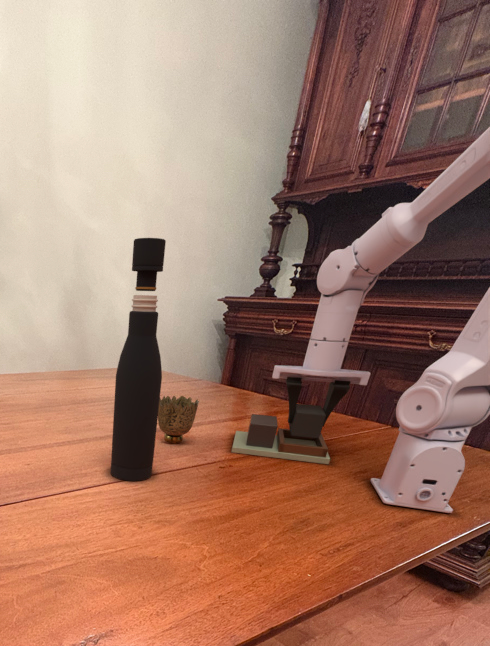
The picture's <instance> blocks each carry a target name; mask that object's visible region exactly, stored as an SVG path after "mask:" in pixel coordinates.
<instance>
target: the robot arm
mask: <svg viewBox="0 0 490 646" xmlns="http://www.w3.org/2000/svg"><path fill="white" fill-rule="evenodd" d="M489 179H490V126H489V127H488V128H487V129H486V130H485V131H484V132H483V133H482V134H480V136H479V137H477V138H476V139H475V140H474V141H473V142H472V143H471V144H470V145H469V146H468V147H467V148H466V149H465V150H464V151H463V152H462V153H461V154H460V155H459V156H458V157H457V158H456V159H455V160H454V161H453V162H451V164H450V165H449V166H448V167H447V168H446V169H445V170H444V171H443V172H442V173H440V174H439V175H438V177H436V178H435V179H434V181H432V182H431V183H430V184H429V185H428V186H427V187H426V188H425V189H424V190H423V191H422V192H421V193H420V194H419V195H418V196H417V197H416V198H415V199H413V201H412V202H400V203H397V204H395V205H394V206H389V207H388V208H387V209H386V210H385V211H384V212H383V213H381V218H380V219H379V220H378V221H376V223H374V224H373V225H372V226H371V227H370V228H369V229H367V231H365V232H364V233H363V234H362V235H361V236H360V237H359V238H356V239H355V240H354V241H353V242H352V243H351V245H348V246H347V247H345V248H342V249H341V248H338V249H335V250H333V251H331V252H330V253H329V255H328V256H327V257H326V258H325V259H324V261H323V262H322V263H321V265H320V267H319V269H318V272H317V276H316V286H317V290H318V291H319V292H320V298H319V303H318V306H317V309H316V313H315V317H314V322H313V324H312V325H313V326H312V329H311V333H310V337H309V341H308V345H307V349H306V353H305V356H304V360H303V364H302V365H274V367H273V371H272V376H271V377H272V379H275V380H277V379H278V380H279V379H282V380H283V379H284V380H285V384H286V390H287V391H286V392H287V398H288V417H287V423H288V424H289V423H291V424H292V422H293V419H294V415H295V410H296V405H297V404H298V402H299V398H300V394H301V391H302V388H303V385H302V384H303V381H313V382H322V383H323V382H326V383H328V389H327V394H326V397H325V402H324V405H323V407H322V409H323V411H324V413H325V415H326V417H325V420H324V424H323V427H325V425H326V423H327V420H328V419H329V417H330V416H331V414H332V412H333V411H334V409H335V408H336V406H337V405H338V404H339V403H340V401H342V399H343V398H344V397H345V396H346V395H347V394H348V393H349V391H350V389H351V385H352V384H353V385H358V386H359V385H360V386H367V385H368V384H369V383H368V382H369V380H370V377H371V372H370V371H368V370H367V371H366V370H355V369H345V368H342V365H343V362H344V358H345V355H346V352H347V348H348V345H349V342H350V338H351V335H352V332H353V329H354V328H353V327H354V325H355V323H356V319H357V315H358V312H359V309H360V308H361V306H362V305H363V304H364V301H365V298H366V296H367V294H368V293H369V292H370V290H372V289H373V287H374V286H375V284H376V283H377V281H378V278H379V276H380V274H381V272H383V271H384V270H385V269H387V268H388V267H389V266H391V265H392V264H393V263H395V262H396V261H397V260H398V259H399V258H401V257H402V256H403V255H404V254H406V253H407V252H409V251H410V250H411V249H413V247H415V246H416V245H417V244H419V243H420V242H421V241H422V240H423V239H424V237H425V234H426V231H427V228H428V226H429V224H430V223H431V222H433V221H434V220H435V219H436V218H438V217H439V216H440V215H442V214H443V213H445V212H446V211H447V210H449V209H450V208H451V207H453V206H454V205H456V204H457V203H459V202H460V201H461V200H462V199H464V198H465V197H467V196H468V195H469V194H470V193H472V192H473V191H475V190H476V189H477V188H479V187H480V186H482V185H483V184H484V183H486V182H487V181H488V180H489ZM463 327H464V328H463V329H462V331H461V332H460V334H459V336H458V337H457V338H456V339H455V342H454V343H453V345H452V347H451V348H450V350H449V351H448V352H447V353H446V354H445V355H443V356H441V357H440V358H439V359H437V360H435V362H433V363H432V364H430V365H429V366H428V367H427V368H425V370H424V371H423V372H422V374H421V376H420V377H419V379H418V380H417V381H416V382H415V383H414V384H413V385H411V386H410V387H409V388H407V389H406V390H405V391H404V392H403V393H402V395H401V396H400V397H399V399H398V401H397V404H396V408H395V418H396V421H397V423H398V425H399V428H398V435H397V437H396V440H395V443H394V444H393V448H392V450H391V453H390V455H389V458H388V460H387V463H386V465H385V468H384V471H383V473H382V476H381V478H376V477H371V478H370V480H369V481H370V483H371V484H372V486H373V488H374V490H375V491H376V494H378V496H379V498H380V499H381V501H382V503H383V504H386V505H392V506H397V507H398V506H399V507H405V508H413V509H418V510H425V511H433V512H439V513H446V514H453V512H454V509H453V508H452V506H451V505H450V504H449V502H450V500H451V497H452V496H453V493H454V491H455V490H456V487H457V486H458V483H459V481H460V479H461V477H462V475H463V473H464V471H465V467H466V460H465V457H464V455H463V453H462V449H463V447H464V445H465V443H466V440H467V438H468V436H469V434H470V432H471V431H472V429H473V428H474V427H476V426H478V425H480V424H481V423H483V422H484V421H485V420H486V419H487V418H488V417H489V416H490V286H489V287H488V289H487V291H486V292H485V294H484V295H483V297H482V298H481V300H480V302H479V303H478V305H477V306H476V308H475V310H474V311H473V313H472V314H471V316H470V318H469V319H468V321H467V322H466V324H465V326H463ZM323 427H322V428H323Z"/></svg>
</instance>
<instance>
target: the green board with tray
mask: <svg viewBox="0 0 490 646" xmlns="http://www.w3.org/2000/svg"><path fill="white" fill-rule="evenodd" d="M278 427H279V426H278V416H276V415H267V414H266V415H265V414H257V413H255V414H254V413H252V414H251V416H250V421H249V425H248V430H247V431H242V430H236V431H235V434H234V438H233V442H232V447H231V453H235V454H243V455H249V456H258V457H265V458H273V459H283V460H290V461H299V462H306V463H314V464H321V465H330V462H331V457H330V455H329V448H328V446H327V443H326V441H325V438H324V435H323V434H322V433H321V434H320V437H319V439H317V438H308V437H299V436H291V433H290V428H280V427H279V428H278Z"/></svg>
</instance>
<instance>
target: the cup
mask: <svg viewBox="0 0 490 646" xmlns="http://www.w3.org/2000/svg"><path fill="white" fill-rule="evenodd" d="M192 400H193V399H192V397H190V396H189V397H186V396H184V395H181V396H179V397H176V396H175V395H173V396H172V398H171V397H170V395H167V396H165V395H163V397H162V399H161V398H160V400H159V410H158V419H157V425H158V427H159V428H158V429H160V431H161V432H162V433H163V434H164V435H163V439H164V442H166V443H168V444H171V445H175V444H176V445H177V444H180V443H182V442H183V440H184V435H186V434H188V433H189V432H190V430H191V429H192V427H193V425H194V422H195V418H196V414H197V410H198V407H199V403H200V400H199V399H198V398H197V399H195V401H192Z"/></svg>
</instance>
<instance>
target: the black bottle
mask: <svg viewBox="0 0 490 646" xmlns="http://www.w3.org/2000/svg"><path fill="white" fill-rule="evenodd" d="M166 242H167V241H166V239H165V238H160V237H139V238H138V237H137V238H134V240H133V245H132V246H133V247H132V262H131V266H132V267H131V272H136V284H135V288H134V289H135V291H136V292H156V291H157V278H158V273H162V272H164V264H165V252H166ZM131 301H132V304H131V308H132V310H130V311H129V313H128V328H127V336H126V339H125V341H124V344H123V347H122V350H121V352H120V355H119V358H118V359H119V360H118V363H117V368H116V373H115V382H114V383H115V385H114V400H113V401H114V402H113V403H114V404H113V421H112V439H111V455H110V456H111V459H110V475H111V476H112V477H114V478H115V479H118V480H122V481H127V482H140V481H145V480H148V479H150V478H151V477H152V475H153V466H154V456H155V447H156V437H157V429H158V428H157V426H158V410H159V400H160V399H161V389H162V382H163V381H162V380H163V372H162V359H161V357H162V356H161V352H160V347H159V342H158V338H157V331H158V320H159V312H158V311H157V308H158V305H157V303H158V302H159V300H158V295H149V294H147V295H146V294H134V295H133V298H132V299H131Z"/></svg>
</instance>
